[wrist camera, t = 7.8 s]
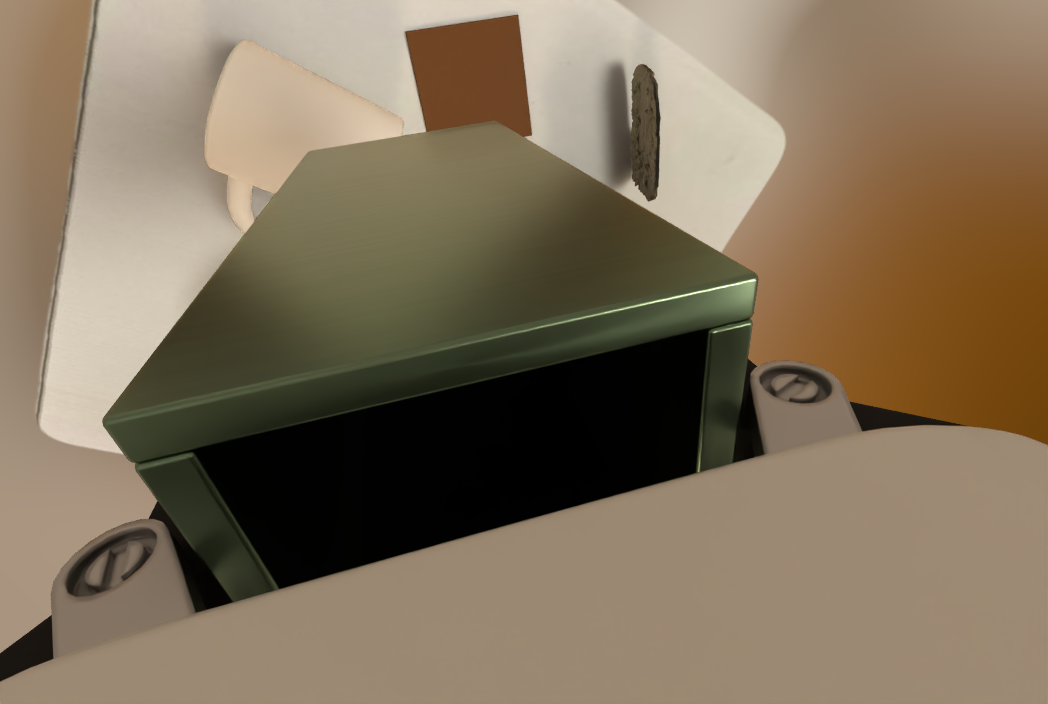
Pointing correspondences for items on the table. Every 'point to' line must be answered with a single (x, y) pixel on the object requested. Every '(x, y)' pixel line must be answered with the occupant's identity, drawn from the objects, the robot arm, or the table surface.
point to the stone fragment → (645, 132)
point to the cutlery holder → (433, 359)
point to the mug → (279, 123)
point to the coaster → (471, 74)
